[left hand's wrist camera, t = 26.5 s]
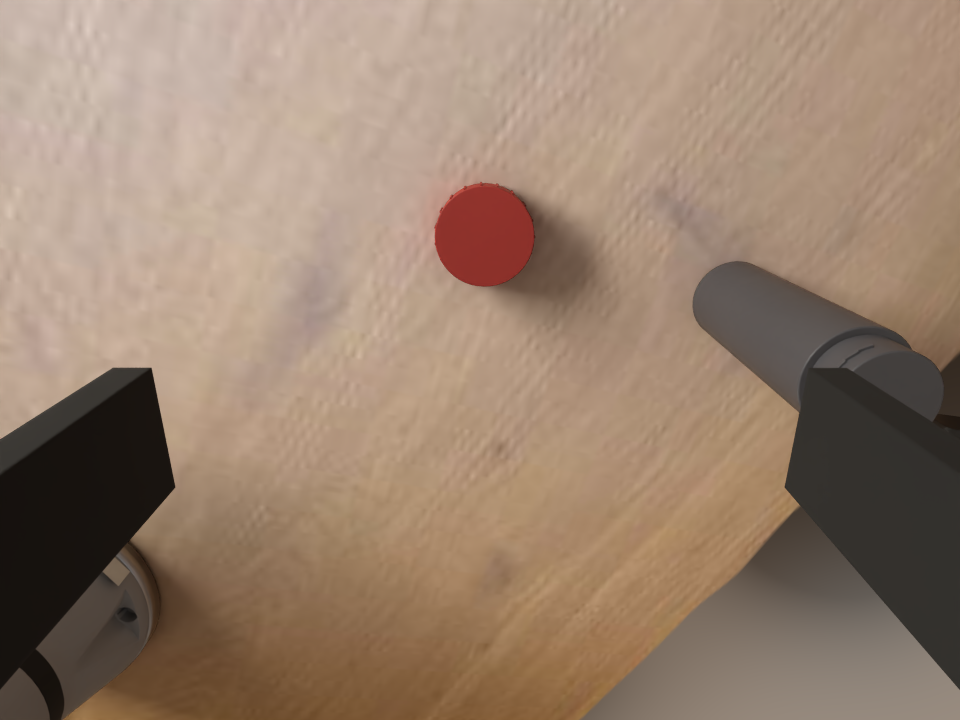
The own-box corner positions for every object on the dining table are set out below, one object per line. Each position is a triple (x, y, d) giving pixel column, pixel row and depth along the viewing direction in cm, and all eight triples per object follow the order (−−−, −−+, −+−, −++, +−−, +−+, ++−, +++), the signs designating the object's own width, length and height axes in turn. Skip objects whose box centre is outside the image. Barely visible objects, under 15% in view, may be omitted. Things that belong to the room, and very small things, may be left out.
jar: (676, 309, 39) (797, 416, 24) (730, 245, 37) (893, 317, 22) (733, 351, 40) (883, 479, 25) (787, 291, 38) (981, 388, 23)
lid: (552, 224, 37) (556, 229, 35) (491, 297, 38) (492, 307, 36) (477, 161, 35) (476, 162, 33) (417, 239, 37) (413, 246, 35)
